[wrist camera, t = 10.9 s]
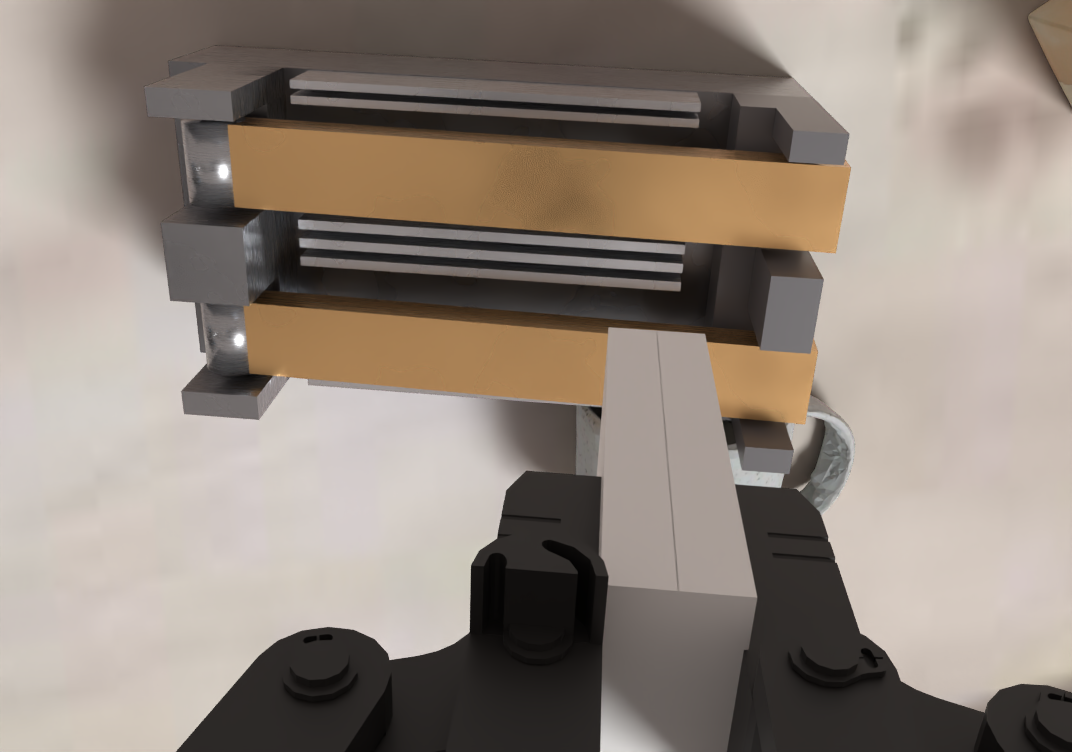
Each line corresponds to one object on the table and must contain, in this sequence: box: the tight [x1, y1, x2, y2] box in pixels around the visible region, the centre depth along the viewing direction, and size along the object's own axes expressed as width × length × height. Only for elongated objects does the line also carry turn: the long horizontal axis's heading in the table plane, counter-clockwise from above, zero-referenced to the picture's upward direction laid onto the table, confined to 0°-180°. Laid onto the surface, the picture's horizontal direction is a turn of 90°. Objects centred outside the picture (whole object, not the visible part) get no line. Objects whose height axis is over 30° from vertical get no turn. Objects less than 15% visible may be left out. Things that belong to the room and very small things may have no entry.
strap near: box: [181, 117, 851, 253], centre depth 28 cm, size 19×2×2 cm, turn 87°
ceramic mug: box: [576, 395, 855, 515], centre depth 36 cm, size 11×8×8 cm
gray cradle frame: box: [144, 45, 813, 420], centre depth 32 cm, size 20×10×9 cm, turn 87°
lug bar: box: [704, 93, 849, 474], centre depth 30 cm, size 2×10×5 cm, turn 178°
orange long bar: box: [201, 290, 818, 424], centre depth 31 cm, size 19×2×2 cm, turn 87°
